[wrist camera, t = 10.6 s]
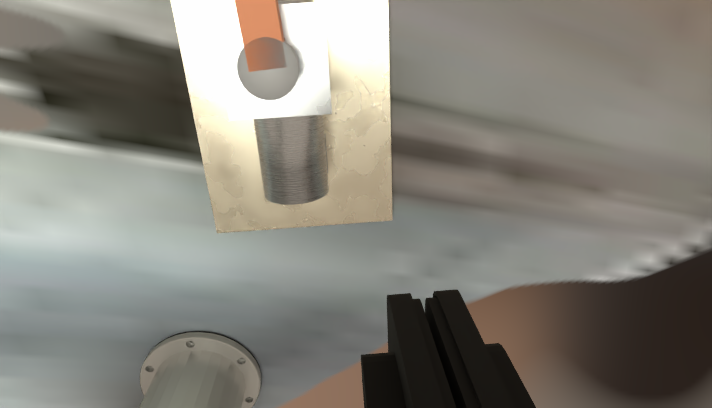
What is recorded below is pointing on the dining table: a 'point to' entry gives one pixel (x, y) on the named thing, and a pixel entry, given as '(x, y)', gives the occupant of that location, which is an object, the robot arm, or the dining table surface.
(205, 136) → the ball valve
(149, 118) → the dining table surface
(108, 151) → the dining table surface
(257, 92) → the valve lever
